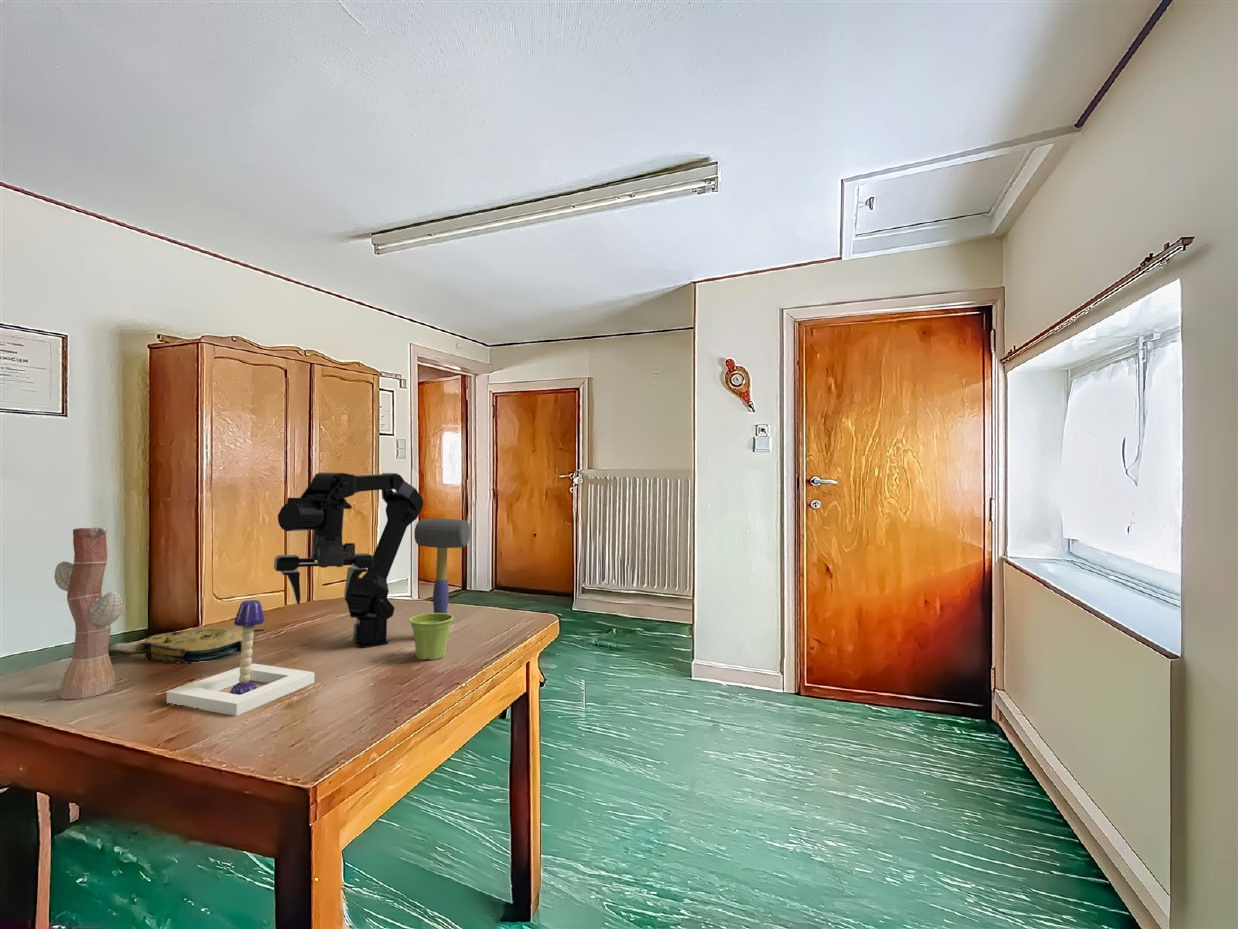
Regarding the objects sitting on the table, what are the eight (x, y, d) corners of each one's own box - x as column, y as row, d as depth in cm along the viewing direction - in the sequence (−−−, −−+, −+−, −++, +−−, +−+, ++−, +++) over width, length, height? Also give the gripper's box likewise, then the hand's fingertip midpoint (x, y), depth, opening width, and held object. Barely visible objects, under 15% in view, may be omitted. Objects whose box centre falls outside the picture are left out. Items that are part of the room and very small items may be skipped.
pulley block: (108, 624, 123) (265, 615, 133) (109, 649, 123) (265, 638, 134) (72, 653, 109) (250, 641, 120) (73, 681, 110) (249, 666, 121)
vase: (127, 687, 103) (134, 526, 104) (80, 702, 96) (88, 529, 97) (86, 681, 106) (94, 524, 107) (38, 695, 99) (46, 527, 100)
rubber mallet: (408, 641, 136) (412, 518, 137) (422, 632, 143) (425, 516, 144) (458, 643, 135) (461, 520, 136) (468, 634, 142) (472, 518, 143)
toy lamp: (246, 686, 105) (250, 597, 105) (267, 688, 104) (271, 599, 104) (223, 695, 100) (227, 603, 101) (245, 698, 99) (249, 605, 100)
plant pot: (424, 666, 118) (425, 625, 118) (399, 657, 124) (401, 618, 124) (460, 655, 126) (461, 617, 126) (436, 647, 131) (437, 610, 132)
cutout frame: (250, 673, 112) (251, 663, 112) (314, 682, 107) (314, 672, 108) (166, 703, 97) (166, 691, 97) (236, 716, 92) (236, 703, 92)
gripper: (282, 532, 109) (276, 612, 108) (382, 531, 120) (377, 604, 119) (276, 528, 118) (270, 603, 117) (370, 529, 129) (365, 596, 128)
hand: (322, 602), depth 120 cm, fingers open, 9 cm apart
